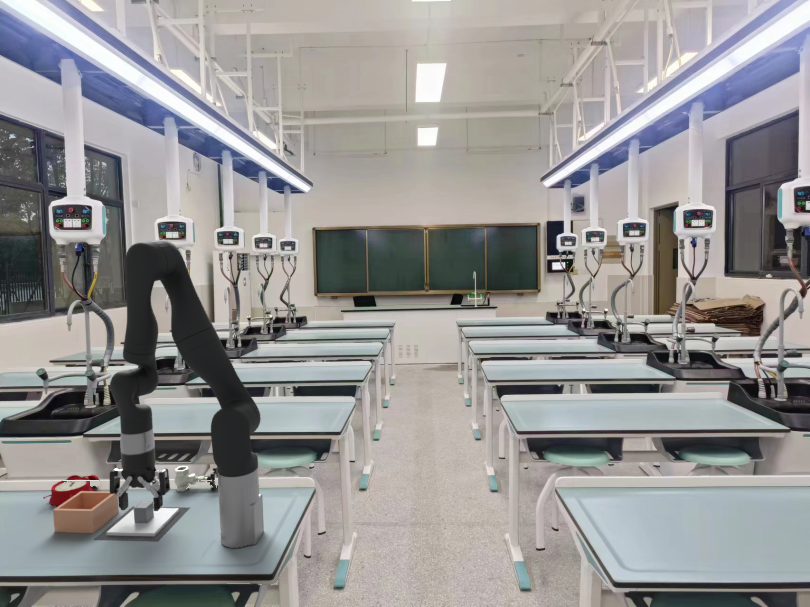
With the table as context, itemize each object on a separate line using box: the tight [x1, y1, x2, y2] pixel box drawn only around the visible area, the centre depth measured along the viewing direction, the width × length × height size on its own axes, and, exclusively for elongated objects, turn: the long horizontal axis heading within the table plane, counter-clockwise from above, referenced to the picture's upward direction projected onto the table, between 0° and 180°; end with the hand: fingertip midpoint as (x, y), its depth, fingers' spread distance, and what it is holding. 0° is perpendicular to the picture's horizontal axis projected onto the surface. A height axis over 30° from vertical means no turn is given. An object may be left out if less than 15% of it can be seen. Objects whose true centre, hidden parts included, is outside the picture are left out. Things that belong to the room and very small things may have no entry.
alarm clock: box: [43, 474, 100, 507], centre depth 146 cm, size 10×6×15 cm
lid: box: [107, 501, 179, 536], centre depth 130 cm, size 12×12×5 cm
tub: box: [52, 490, 120, 534], centre depth 131 cm, size 10×10×6 cm
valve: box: [174, 465, 218, 492], centre depth 148 cm, size 7×7×12 cm
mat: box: [93, 505, 191, 542], centre depth 130 cm, size 16×16×1 cm
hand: (141, 509), depth 129 cm, fingers open, 8 cm apart
